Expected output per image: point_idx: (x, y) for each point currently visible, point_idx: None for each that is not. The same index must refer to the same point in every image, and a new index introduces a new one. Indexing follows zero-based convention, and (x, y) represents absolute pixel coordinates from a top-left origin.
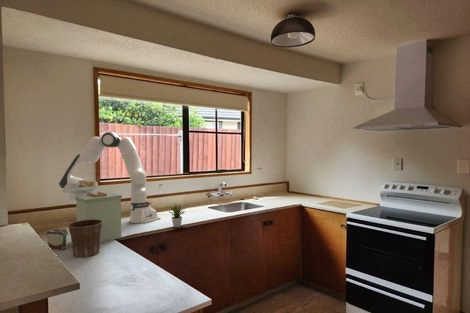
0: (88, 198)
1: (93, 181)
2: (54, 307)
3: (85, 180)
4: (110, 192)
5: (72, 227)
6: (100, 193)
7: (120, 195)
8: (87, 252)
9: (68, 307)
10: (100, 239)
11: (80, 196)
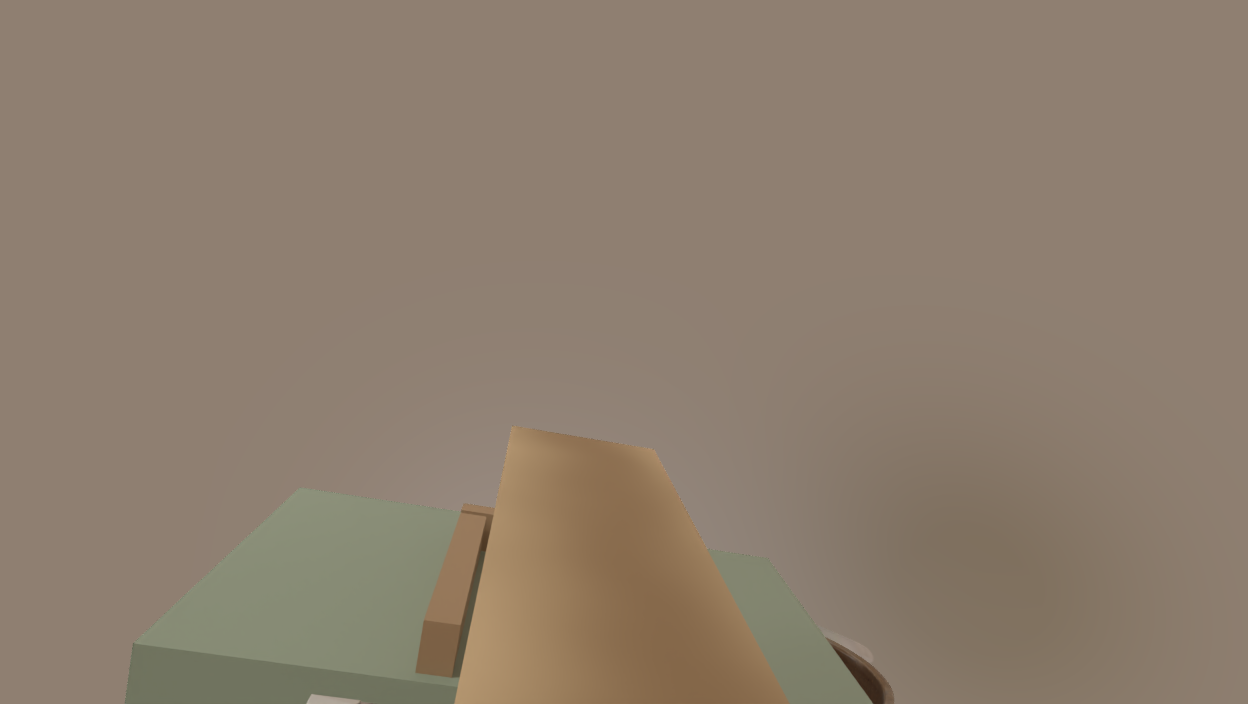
0: (718, 569)
1: (515, 441)
2: (865, 647)
3: (587, 647)
4: (144, 634)
5: (853, 654)
6: (471, 584)
7: (315, 492)
8: None
9: (828, 631)
10: None
11: (805, 690)
